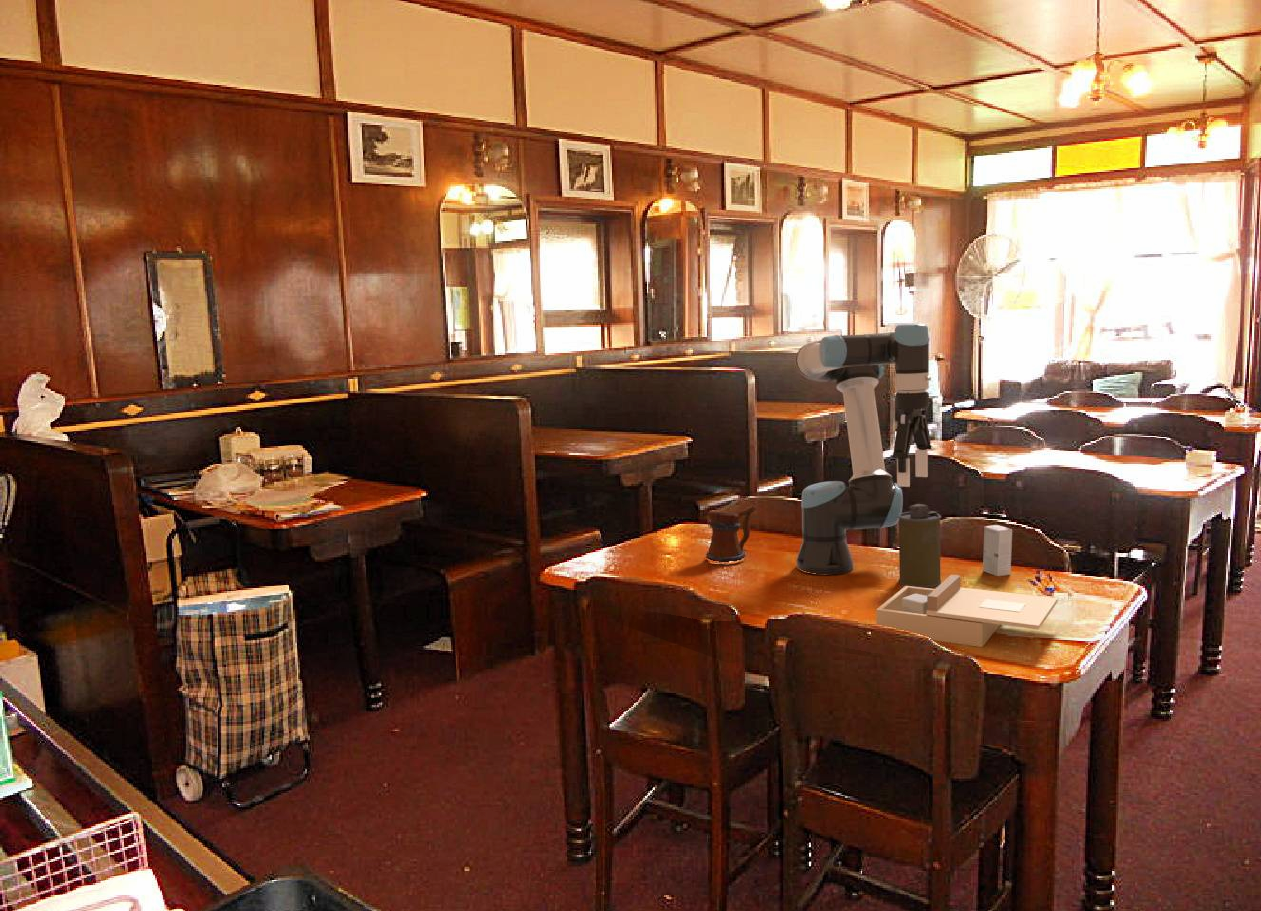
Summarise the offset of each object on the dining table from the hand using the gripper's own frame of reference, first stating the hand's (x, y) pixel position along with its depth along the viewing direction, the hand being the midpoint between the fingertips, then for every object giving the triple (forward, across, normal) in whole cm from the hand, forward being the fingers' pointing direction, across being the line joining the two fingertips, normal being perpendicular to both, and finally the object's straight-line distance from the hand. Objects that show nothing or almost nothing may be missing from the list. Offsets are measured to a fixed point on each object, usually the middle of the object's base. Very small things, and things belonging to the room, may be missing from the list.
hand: (912, 481), depth 219 cm
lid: (+23, -16, -22) cm, 36 cm away
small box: (+28, -16, -6) cm, 33 cm away
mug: (+29, +18, +58) cm, 67 cm away
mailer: (+29, -16, -11) cm, 35 cm away
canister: (+29, +15, +3) cm, 33 cm away
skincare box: (+29, +31, -12) cm, 44 cm away
